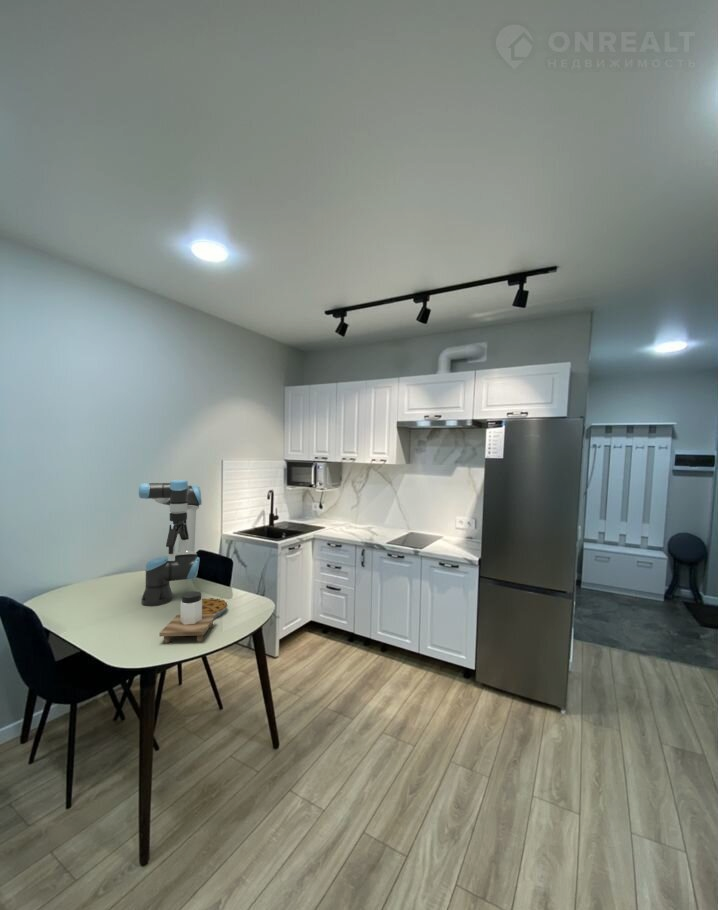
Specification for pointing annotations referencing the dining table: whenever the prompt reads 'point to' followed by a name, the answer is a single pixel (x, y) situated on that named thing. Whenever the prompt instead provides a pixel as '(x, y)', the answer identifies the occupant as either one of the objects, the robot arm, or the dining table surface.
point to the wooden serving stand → (188, 628)
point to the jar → (191, 608)
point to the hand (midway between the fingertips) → (177, 556)
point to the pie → (213, 606)
